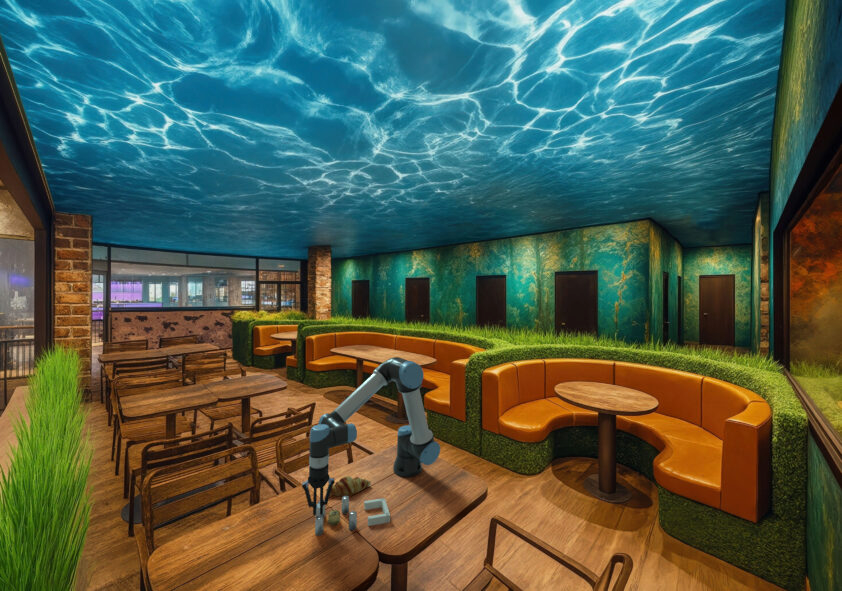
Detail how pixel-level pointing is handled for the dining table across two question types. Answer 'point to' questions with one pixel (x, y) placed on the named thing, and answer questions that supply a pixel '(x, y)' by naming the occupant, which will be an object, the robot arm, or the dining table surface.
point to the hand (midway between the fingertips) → (317, 521)
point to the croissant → (349, 486)
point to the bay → (381, 517)
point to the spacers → (344, 510)
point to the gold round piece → (334, 517)
